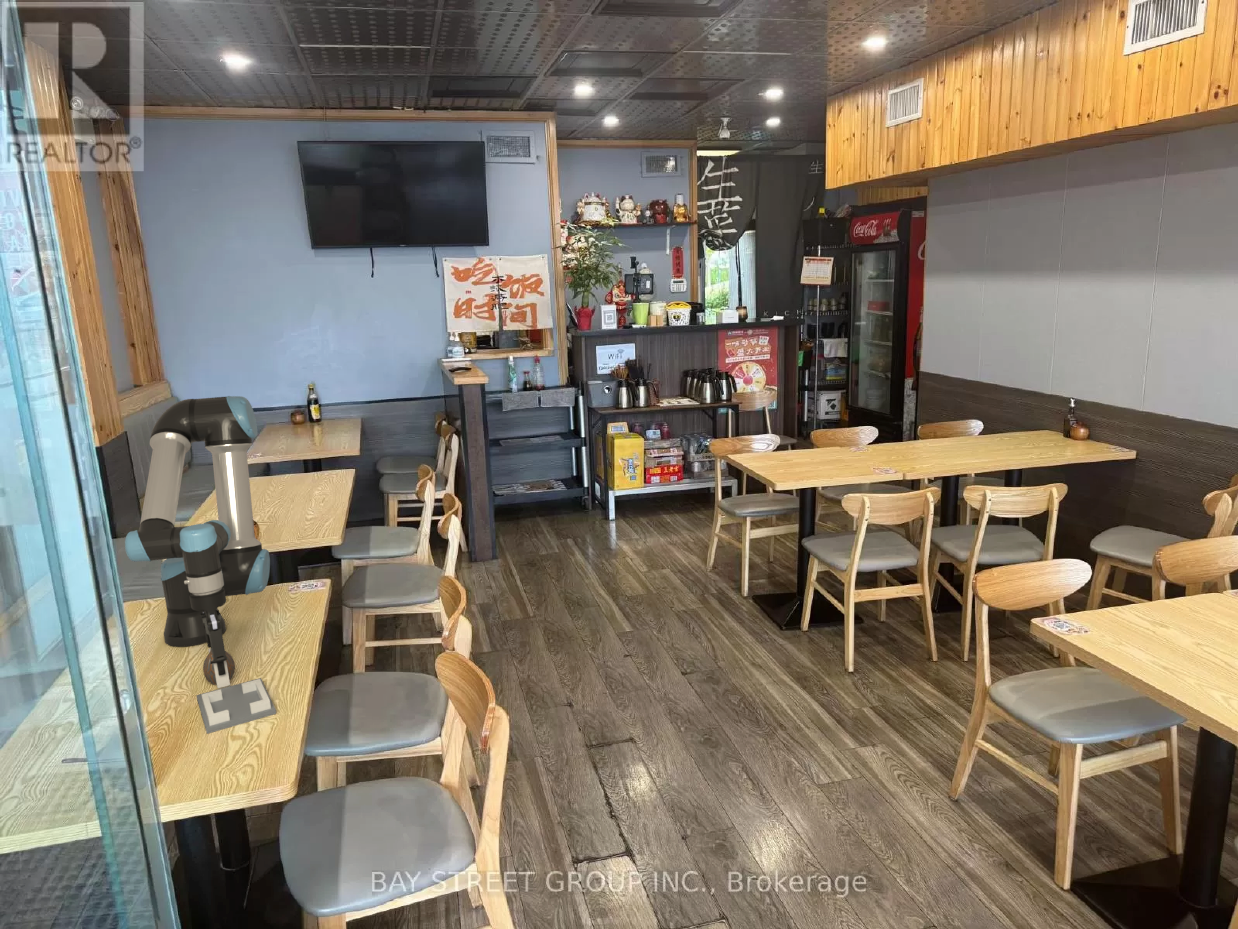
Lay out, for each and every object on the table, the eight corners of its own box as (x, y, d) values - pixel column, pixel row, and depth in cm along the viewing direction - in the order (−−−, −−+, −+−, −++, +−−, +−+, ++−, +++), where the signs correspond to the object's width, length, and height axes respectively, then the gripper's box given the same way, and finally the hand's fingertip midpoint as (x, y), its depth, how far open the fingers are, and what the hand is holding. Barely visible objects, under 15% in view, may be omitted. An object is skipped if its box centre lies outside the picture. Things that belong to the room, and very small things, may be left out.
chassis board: (197, 699, 193) (195, 687, 192) (261, 682, 200) (259, 670, 199) (206, 733, 178) (204, 720, 177) (276, 713, 185) (274, 700, 184)
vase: (228, 672, 206) (223, 639, 204) (242, 679, 202) (237, 646, 200) (200, 683, 201) (194, 649, 199) (213, 691, 197) (208, 656, 195)
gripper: (184, 582, 203) (198, 668, 207) (193, 606, 185) (209, 700, 189) (218, 575, 207) (231, 660, 211) (230, 598, 189) (244, 691, 193)
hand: (221, 679), depth 200 cm, fingers open, 8 cm apart
